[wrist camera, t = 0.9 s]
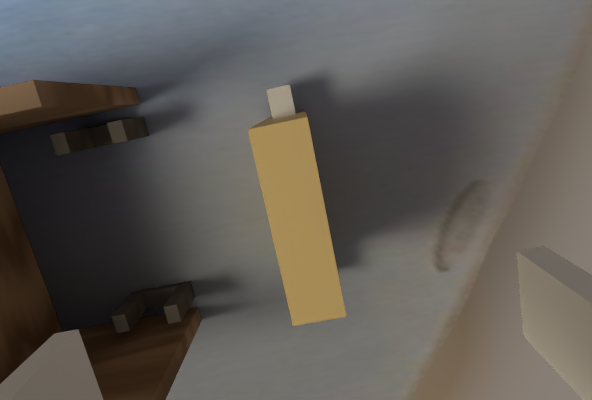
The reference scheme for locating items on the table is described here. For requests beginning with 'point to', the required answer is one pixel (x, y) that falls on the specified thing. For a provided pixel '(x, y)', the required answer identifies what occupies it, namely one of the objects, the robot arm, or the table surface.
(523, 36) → the table surface
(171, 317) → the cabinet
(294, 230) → the yellow rectangular block
